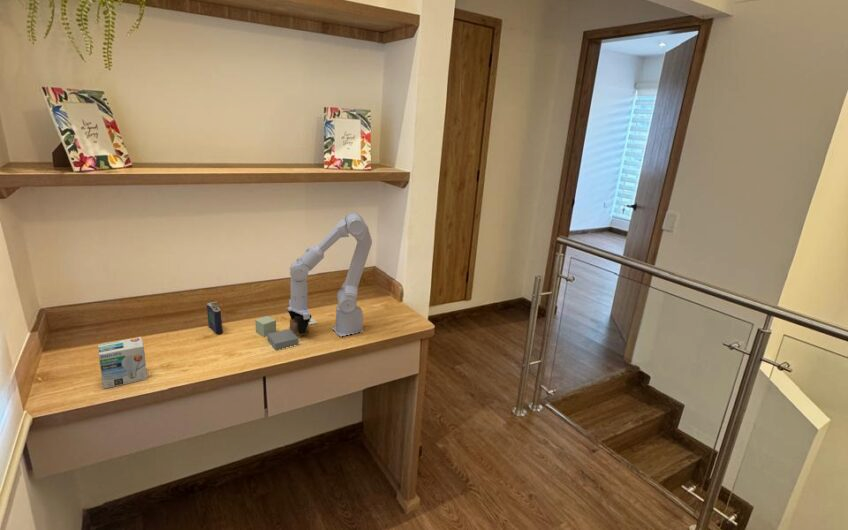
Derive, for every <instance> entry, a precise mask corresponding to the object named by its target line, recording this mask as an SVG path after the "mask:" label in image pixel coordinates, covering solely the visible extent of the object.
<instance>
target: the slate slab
mask: <svg viewBox="0 0 848 530" xmlns="http://www.w3.org/2000/svg"><path fill="white" fill-rule="evenodd" d="M266 337H267V338H266V339H267V342H268V343H269V345H270V346H271V345H272V346H271V347H272V349H274V351H275V350H277V351H280V350H279V349H281V350H283V349H282V348H285V349H287V348H286V347H289V348H291V347H290V346H293V347H295V346H294V345H297V346H299V345H298V344H300V343H299V338H300V337H297V336H296V335H295V334H294V333H293V332H292V331H291V330H290V328H288V329H283V330H279V331H276V332H273V333H269V334H267V336H266Z"/></svg>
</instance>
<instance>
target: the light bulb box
mask: <svg viewBox="0 0 848 530" xmlns="http://www.w3.org/2000/svg"><path fill="white" fill-rule="evenodd" d="M97 346H98V361H99V368H100V374H101V380H102V385H103V387H102V388H103V389H104V390H105V389H109V388H113V387H119V386H123V385H124V386H125V385H127V384H131V383H136V382H137V383H138V382H141V381H146V380H148V375H147V364H146V354H145V353H146V352H145V346H144V342H143V338H142V337H141V336H138V337H133V338H127V339H122V340H117V341H112V342H105V343H101V344H98V345H97Z"/></svg>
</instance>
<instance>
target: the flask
mask: <svg viewBox="0 0 848 530" xmlns="http://www.w3.org/2000/svg"><path fill="white" fill-rule="evenodd" d="M206 312H207V313H206V315H207V326H208V328H210V329H211V331H212V332H213V333H214V334H215V335H216V336H220V335H223V333H224V331H223V324H222V323H223V321H222V310H221V308H220V306H219V305H218V301H212V302H208V303H206Z"/></svg>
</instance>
